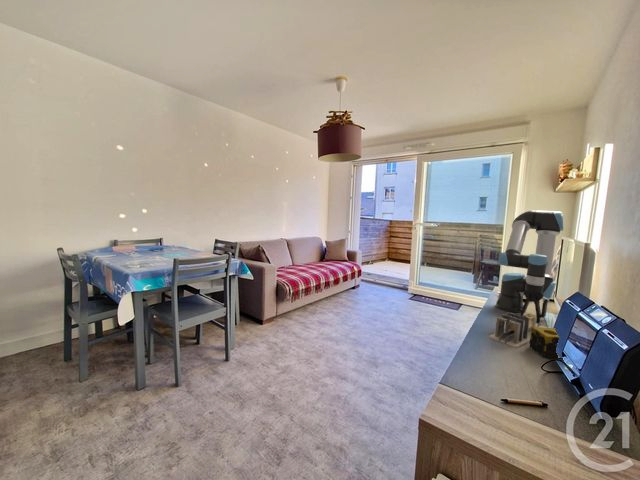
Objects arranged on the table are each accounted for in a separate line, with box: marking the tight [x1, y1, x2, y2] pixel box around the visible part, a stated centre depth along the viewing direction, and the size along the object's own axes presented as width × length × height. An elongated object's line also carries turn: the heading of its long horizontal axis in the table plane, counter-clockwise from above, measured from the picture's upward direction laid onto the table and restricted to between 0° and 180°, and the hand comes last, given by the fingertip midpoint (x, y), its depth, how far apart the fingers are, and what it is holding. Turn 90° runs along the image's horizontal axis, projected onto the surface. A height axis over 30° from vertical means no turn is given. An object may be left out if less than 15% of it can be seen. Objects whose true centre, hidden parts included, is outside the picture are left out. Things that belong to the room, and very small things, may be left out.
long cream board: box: [489, 320, 548, 349], centre depth 141 cm, size 40×12×3 cm, turn 123°
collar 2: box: [504, 311, 530, 339], centre depth 137 cm, size 1×10×11 cm, turn 33°
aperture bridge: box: [494, 316, 521, 344], centre depth 132 cm, size 2×9×10 cm, turn 33°
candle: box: [528, 326, 559, 359], centre depth 121 cm, size 10×10×10 cm
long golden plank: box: [509, 313, 536, 331], centre depth 141 cm, size 22×4×4 cm, turn 123°
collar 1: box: [500, 313, 524, 342], centre depth 134 cm, size 1×10×11 cm, turn 33°
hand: (529, 326), depth 146 cm, fingers closed on long golden plank, 4 cm apart
